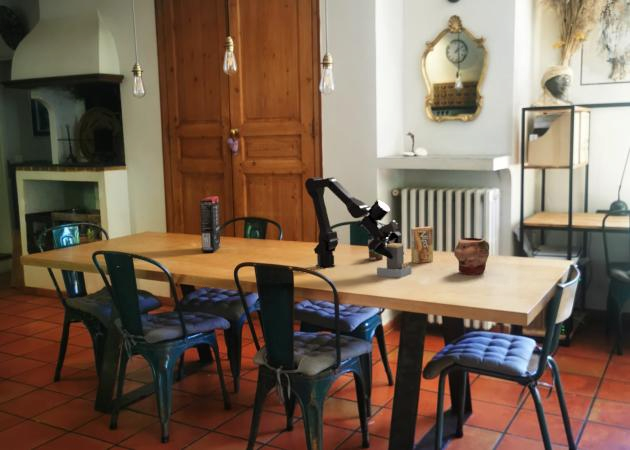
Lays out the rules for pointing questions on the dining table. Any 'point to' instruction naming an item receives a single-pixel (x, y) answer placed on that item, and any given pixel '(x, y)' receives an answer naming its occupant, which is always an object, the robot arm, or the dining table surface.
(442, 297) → the dining table surface
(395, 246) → the plug block
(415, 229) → the candy box
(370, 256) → the food container
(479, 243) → the decorative planter
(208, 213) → the graphics card box
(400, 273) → the header shroud
